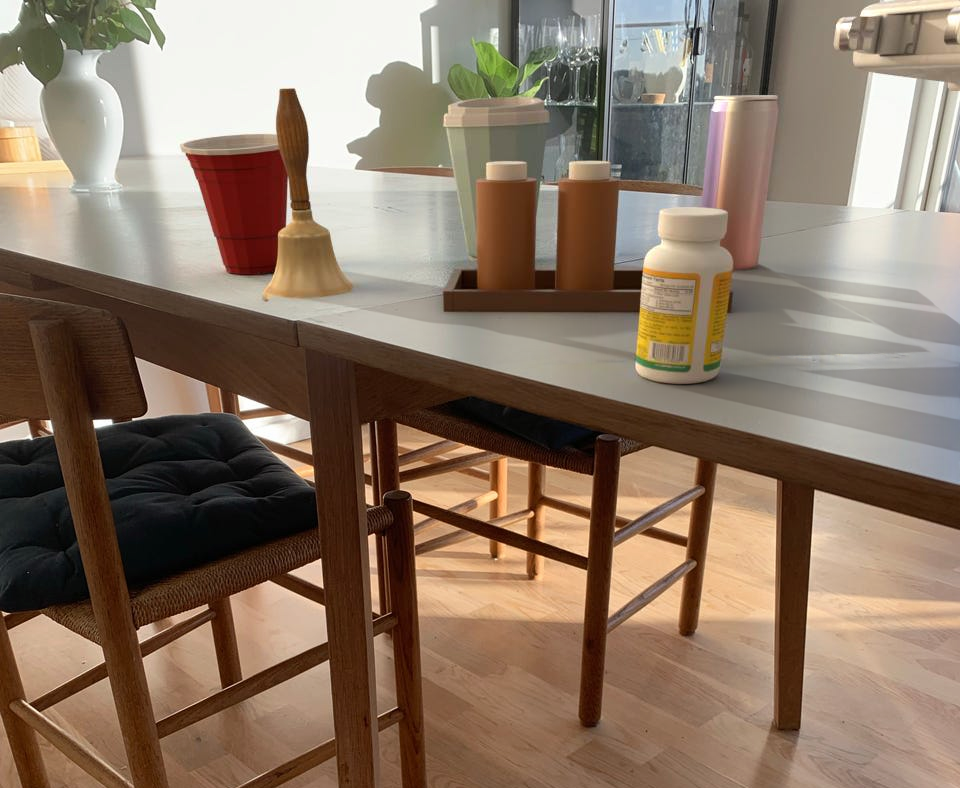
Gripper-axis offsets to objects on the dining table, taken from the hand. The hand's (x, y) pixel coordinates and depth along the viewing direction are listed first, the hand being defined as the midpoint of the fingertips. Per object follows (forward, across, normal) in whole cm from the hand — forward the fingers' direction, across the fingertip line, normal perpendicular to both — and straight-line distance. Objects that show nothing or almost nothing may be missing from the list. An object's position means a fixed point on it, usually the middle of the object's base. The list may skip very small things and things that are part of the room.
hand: (894, 30), depth 54 cm
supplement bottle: (+12, 0, -19) cm, 22 cm away
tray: (+9, +22, -19) cm, 30 cm away
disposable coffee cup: (+7, +47, -19) cm, 51 cm away
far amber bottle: (+15, +24, -18) cm, 34 cm away
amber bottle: (+9, +22, -18) cm, 30 cm away
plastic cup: (+32, +50, -19) cm, 63 cm away
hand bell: (+29, +35, -19) cm, 49 cm away
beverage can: (-11, +32, -19) cm, 39 cm away
